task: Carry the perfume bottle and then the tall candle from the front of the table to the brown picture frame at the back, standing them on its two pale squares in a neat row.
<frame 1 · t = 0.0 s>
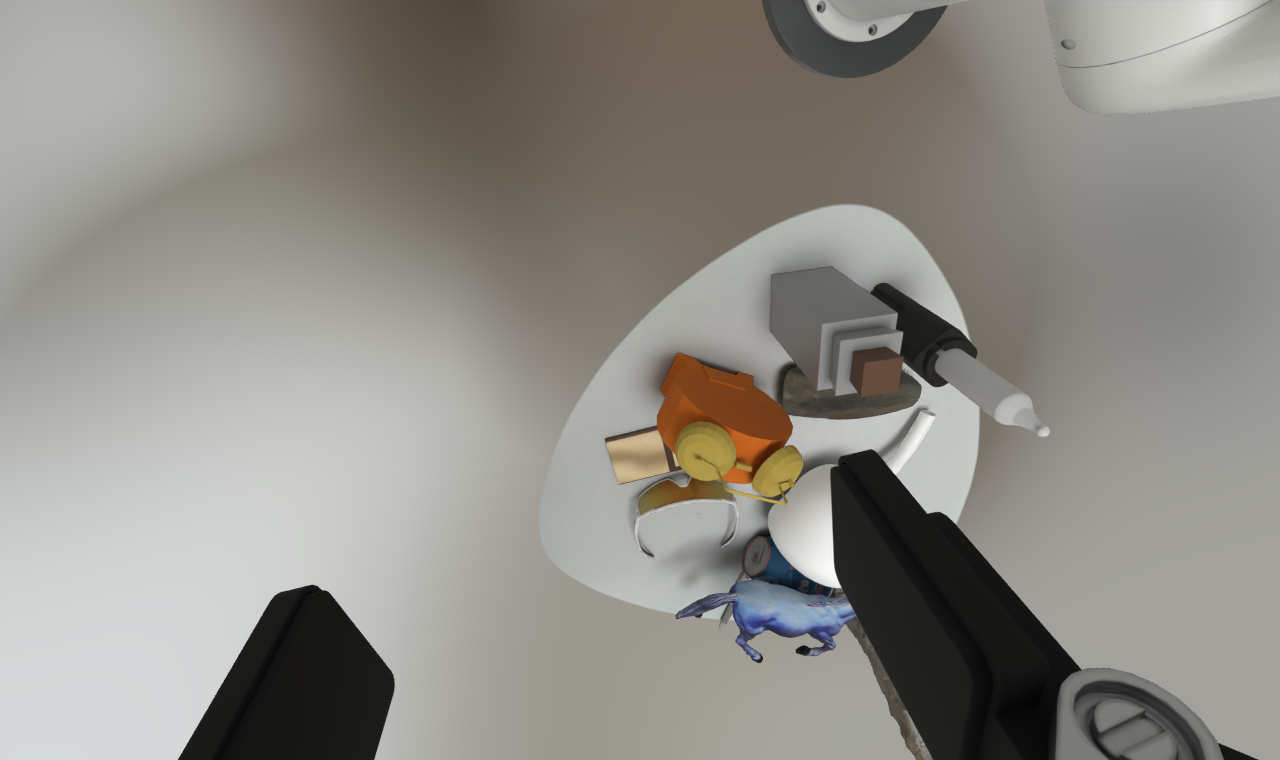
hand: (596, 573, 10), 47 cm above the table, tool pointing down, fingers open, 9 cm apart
pen: (727, 599, 82), on the table
brown picture frame: (665, 447, 67), on the table
stomach: (837, 482, 73), on the table, touching toy
decorative stone: (841, 381, 65), on the table
perfume bottle: (799, 299, 59), on the table
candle: (877, 308, 61), on the table
soda can: (820, 585, 78), point 4 cm above the table, touching statue, toy
toy: (755, 634, 75), point 8 cm above the table, touching soda can, statue, stomach
alarm clock: (706, 384, 63), on the table
sunglasses: (683, 512, 73), on the table
statue: (834, 564, 82), on the table, touching soda can, toy
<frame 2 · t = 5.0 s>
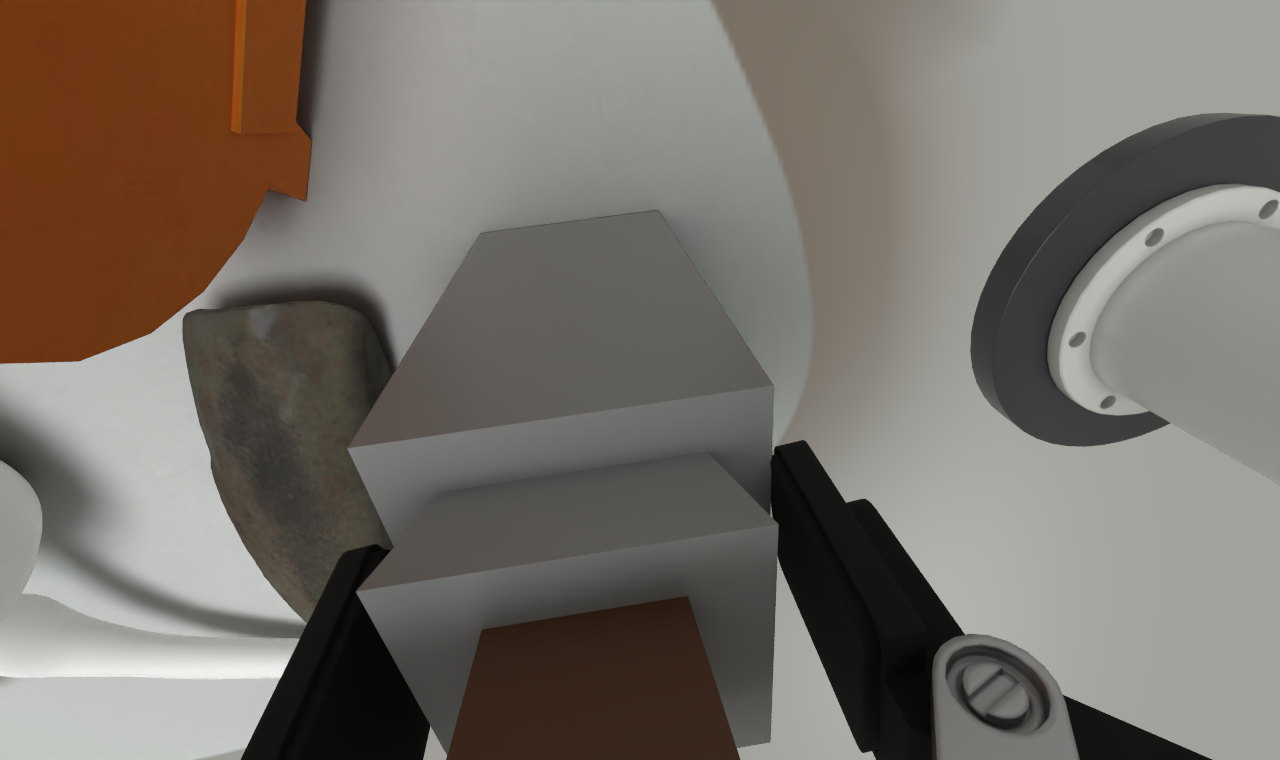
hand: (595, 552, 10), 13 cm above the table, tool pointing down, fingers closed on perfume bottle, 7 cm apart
decorative stone: (349, 457, 24), on the table
perfume bottle: (583, 302, 22), on the table, touching gripper
alarm clock: (221, 4, 16), on the table
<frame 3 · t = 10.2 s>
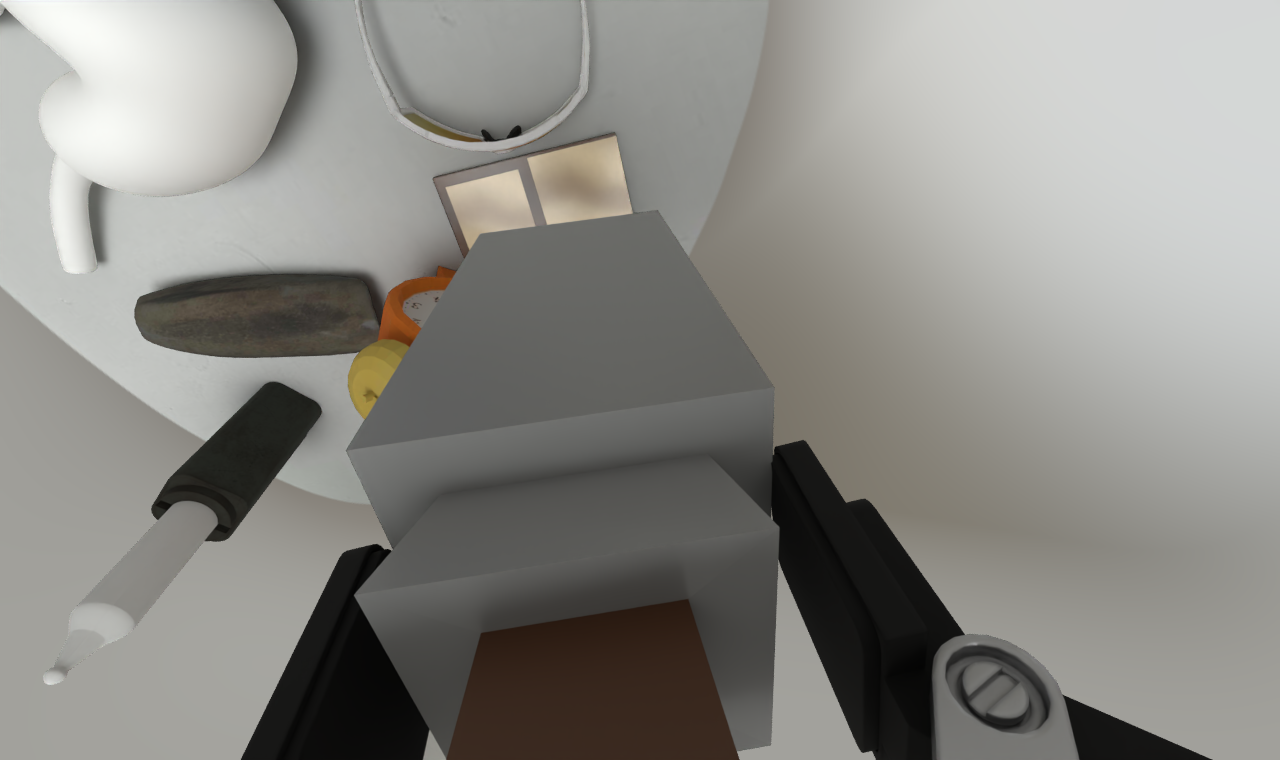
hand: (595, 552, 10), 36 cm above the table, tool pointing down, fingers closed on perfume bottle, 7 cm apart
brown picture frame: (538, 203, 42), on the table
stomach: (159, 88, 35), on the table, touching toy
decorative stone: (280, 310, 44), on the table
perfume bottle: (583, 303, 22), point 23 cm above the table, touching gripper
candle: (286, 410, 48), on the table
alarm clock: (493, 310, 46), on the table
sunglasses: (482, 30, 36), on the table
when the fingers open (14 cm above the table, at t = 15.5 s): perfume bottle stays where it is, resting on brown picture frame.
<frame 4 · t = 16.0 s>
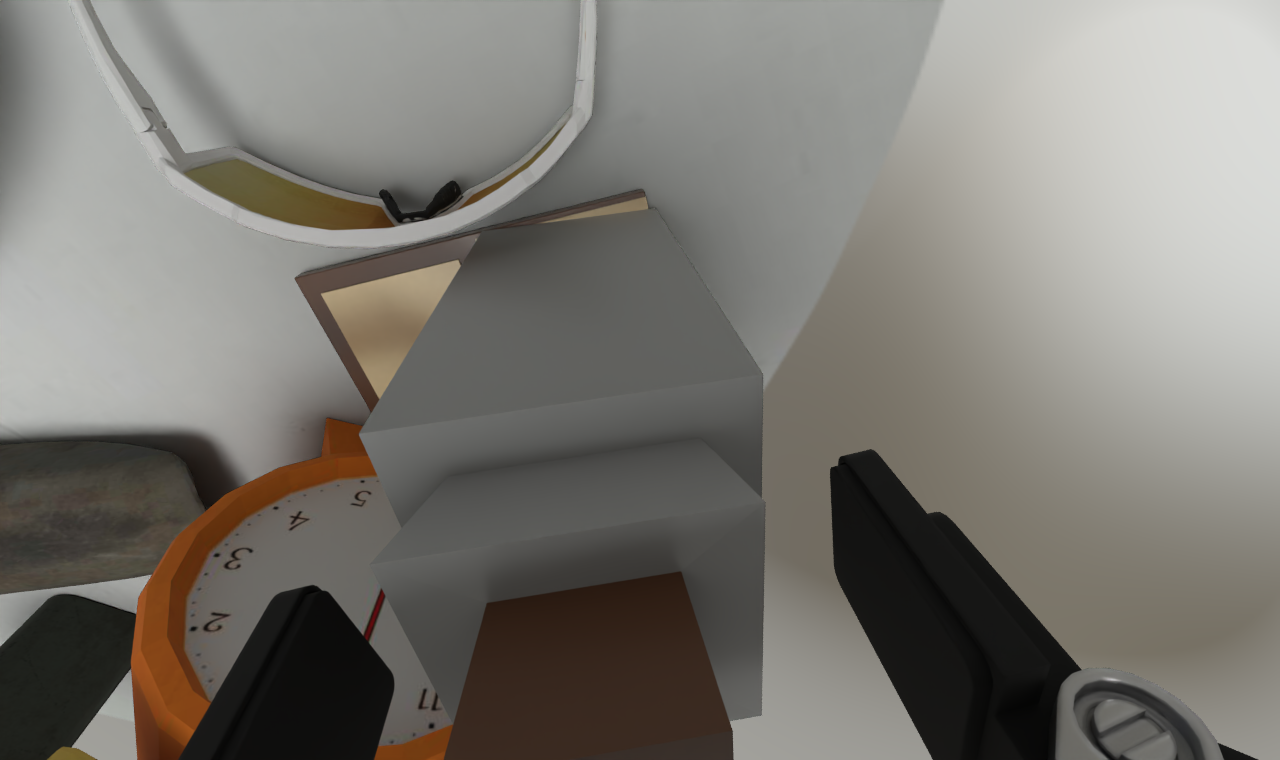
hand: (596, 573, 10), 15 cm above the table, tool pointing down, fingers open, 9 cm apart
brown picture frame: (502, 313, 23), on the table
decorative stone: (52, 492, 25), on the table
perfume bottle: (583, 299, 22), point 1 cm above the table, touching brown picture frame
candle: (96, 629, 29), on the table
alarm clock: (430, 479, 27), on the table
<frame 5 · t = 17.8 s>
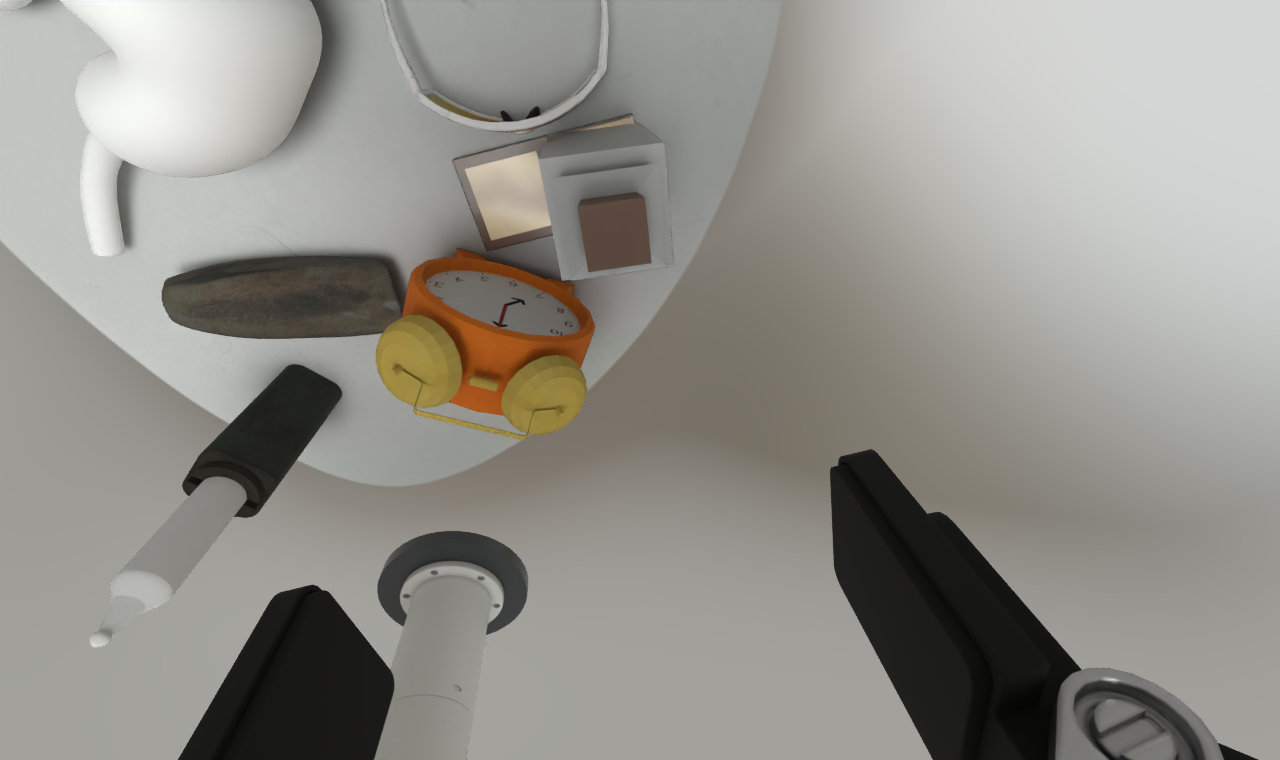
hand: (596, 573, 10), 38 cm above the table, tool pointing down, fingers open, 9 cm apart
brown picture frame: (556, 184, 42), on the table
stomach: (185, 71, 36), on the table, touching toy
decorative stone: (302, 293, 44), on the table
perfume bottle: (600, 175, 42), point 1 cm above the table, touching brown picture frame
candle: (307, 392, 49), on the table
alarm clock: (510, 292, 46), on the table
sunglasses: (501, 11, 36), on the table
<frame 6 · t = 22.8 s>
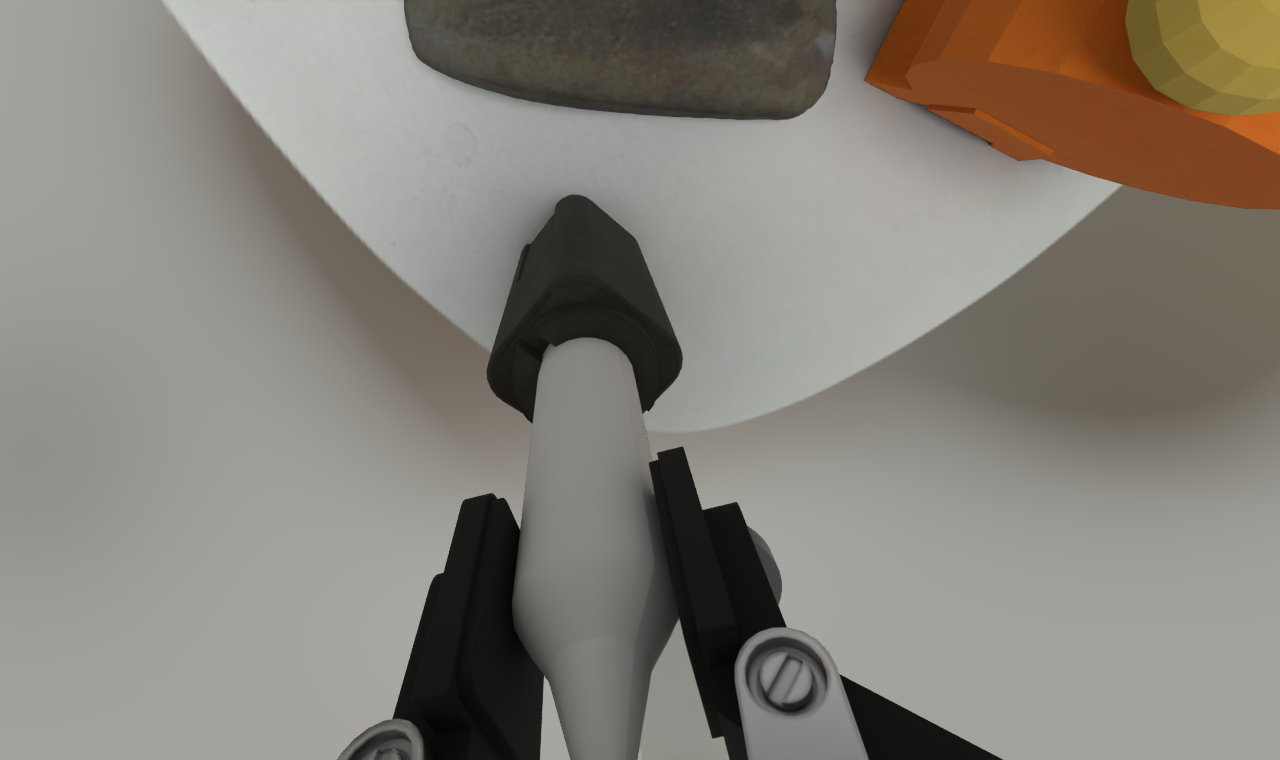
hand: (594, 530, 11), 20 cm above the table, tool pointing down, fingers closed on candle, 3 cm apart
decorative stone: (625, 39, 23), on the table
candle: (580, 255, 28), on the table, touching gripper
alarm clock: (978, 61, 25), on the table
when the fingers open (20 cm above the table, at t = 31.7 s): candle stays where it is, resting on brown picture frame.
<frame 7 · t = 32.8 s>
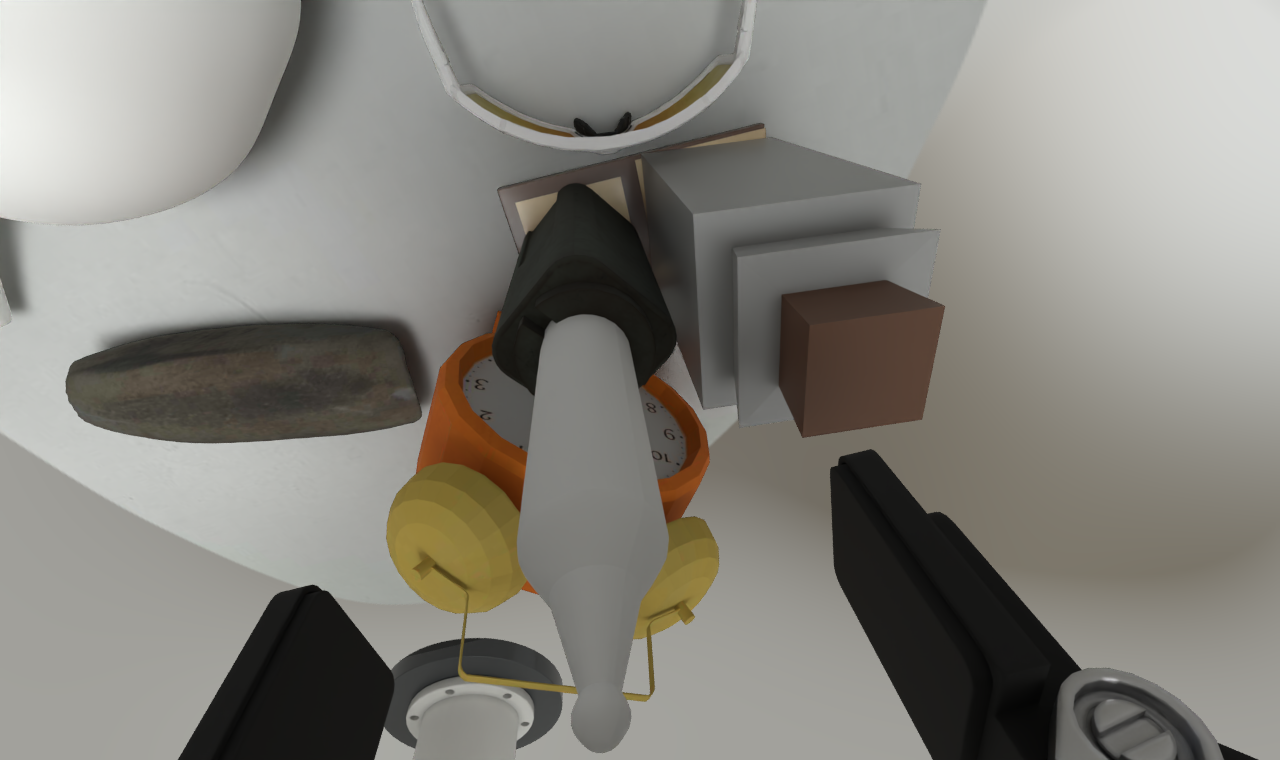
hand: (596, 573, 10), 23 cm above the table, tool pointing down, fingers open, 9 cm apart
brown picture frame: (643, 223, 29), on the table
stomach: (89, 54, 23), on the table, touching toy
decorative stone: (277, 371, 31), on the table
perfume bottle: (708, 212, 29), point 1 cm above the table, touching brown picture frame
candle: (581, 242, 29), point 1 cm above the table, touching brown picture frame
alarm clock: (568, 368, 33), on the table
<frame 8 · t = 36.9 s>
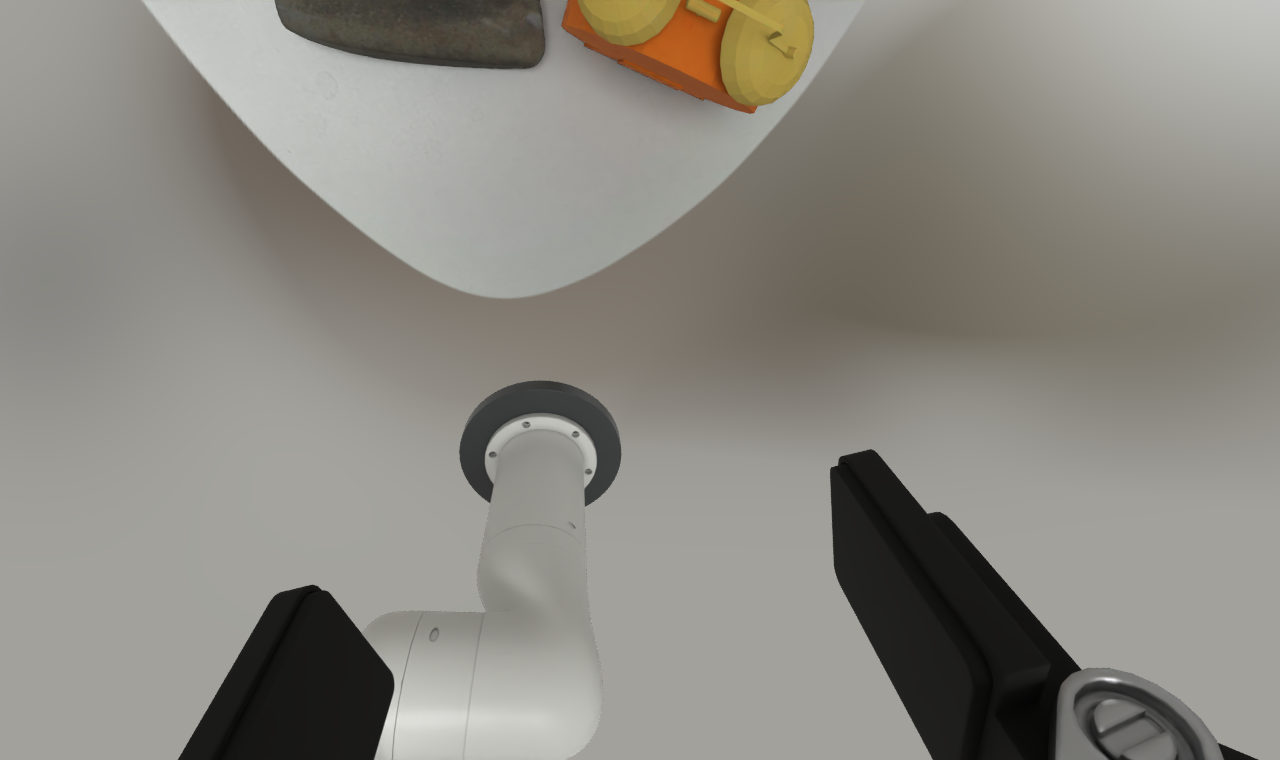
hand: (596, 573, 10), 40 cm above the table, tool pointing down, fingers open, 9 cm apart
decorative stone: (424, 18, 38), on the table
alarm clock: (659, 33, 40), on the table
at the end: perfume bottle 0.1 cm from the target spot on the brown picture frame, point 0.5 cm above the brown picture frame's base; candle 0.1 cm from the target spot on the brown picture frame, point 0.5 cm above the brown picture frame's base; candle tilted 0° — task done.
